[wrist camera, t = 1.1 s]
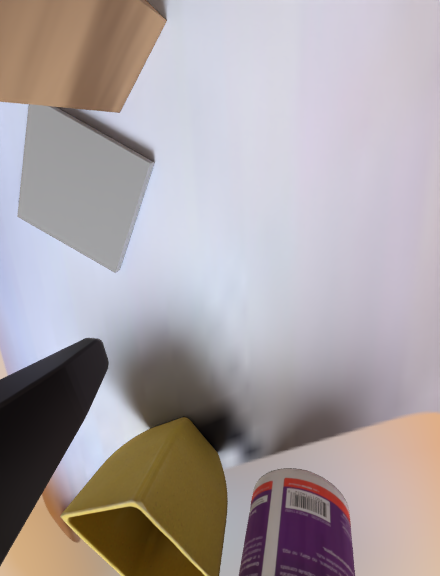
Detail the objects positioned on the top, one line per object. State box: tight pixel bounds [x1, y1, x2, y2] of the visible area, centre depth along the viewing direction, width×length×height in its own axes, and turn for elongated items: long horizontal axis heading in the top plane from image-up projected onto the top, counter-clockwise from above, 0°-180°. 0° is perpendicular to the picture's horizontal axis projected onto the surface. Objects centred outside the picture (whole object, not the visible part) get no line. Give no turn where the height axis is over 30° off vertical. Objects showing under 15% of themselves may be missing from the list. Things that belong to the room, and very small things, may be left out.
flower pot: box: [61, 417, 228, 576], centre depth 25 cm, size 9×9×9 cm
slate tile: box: [18, 104, 155, 273], centre depth 20 cm, size 8×8×1 cm
